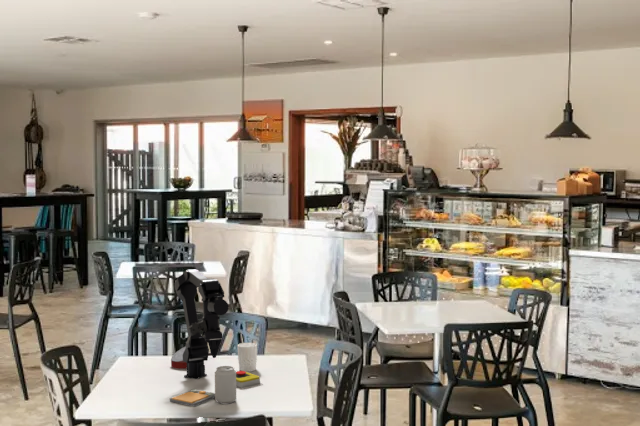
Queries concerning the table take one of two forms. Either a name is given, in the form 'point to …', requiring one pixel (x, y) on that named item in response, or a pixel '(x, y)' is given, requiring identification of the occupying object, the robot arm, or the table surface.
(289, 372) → the table surface
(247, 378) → the emergency button
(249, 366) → the white cup
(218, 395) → the can
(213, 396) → the indicator board
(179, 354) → the grey red slanted block
